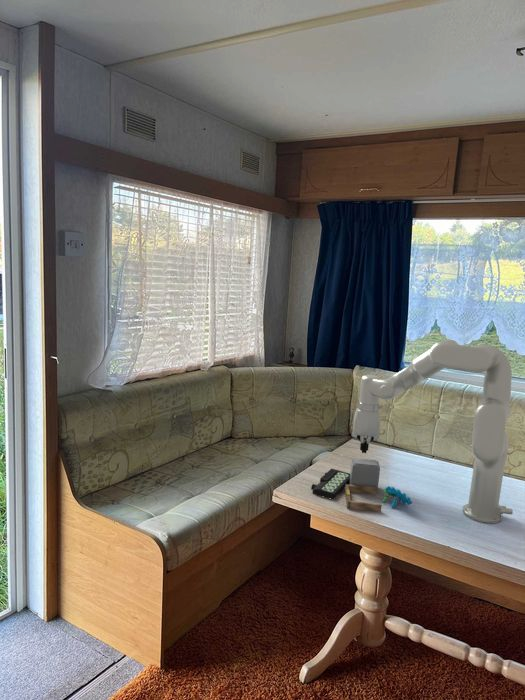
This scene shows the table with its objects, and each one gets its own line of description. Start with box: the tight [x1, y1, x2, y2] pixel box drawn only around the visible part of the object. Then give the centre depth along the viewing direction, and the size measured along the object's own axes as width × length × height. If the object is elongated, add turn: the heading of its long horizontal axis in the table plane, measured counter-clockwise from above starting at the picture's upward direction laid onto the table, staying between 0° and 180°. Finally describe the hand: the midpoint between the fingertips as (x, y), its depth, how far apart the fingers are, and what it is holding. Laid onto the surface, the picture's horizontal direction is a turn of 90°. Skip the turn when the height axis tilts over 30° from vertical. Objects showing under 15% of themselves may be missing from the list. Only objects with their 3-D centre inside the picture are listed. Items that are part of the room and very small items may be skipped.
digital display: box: [310, 468, 350, 500], centre depth 196 cm, size 21×3×10 cm
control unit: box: [348, 457, 381, 493], centre depth 195 cm, size 10×7×11 cm
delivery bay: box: [344, 484, 382, 513], centre depth 185 cm, size 12×14×3 cm
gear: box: [382, 485, 413, 509], centre depth 183 cm, size 11×6×10 cm
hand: (363, 451), depth 203 cm, fingers closed
